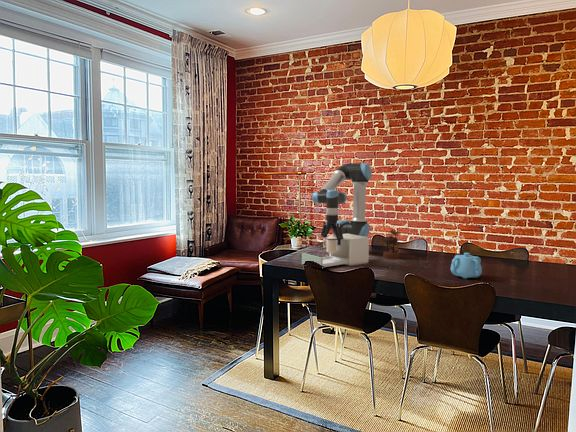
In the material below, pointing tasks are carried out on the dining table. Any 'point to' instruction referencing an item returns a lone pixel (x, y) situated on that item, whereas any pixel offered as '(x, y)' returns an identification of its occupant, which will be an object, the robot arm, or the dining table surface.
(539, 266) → the dining table surface
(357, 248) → the housing
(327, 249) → the teacup with lid
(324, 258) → the tray
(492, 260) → the dining table surface
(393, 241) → the bird nest figurine
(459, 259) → the decorative pot
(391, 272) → the dining table surface
